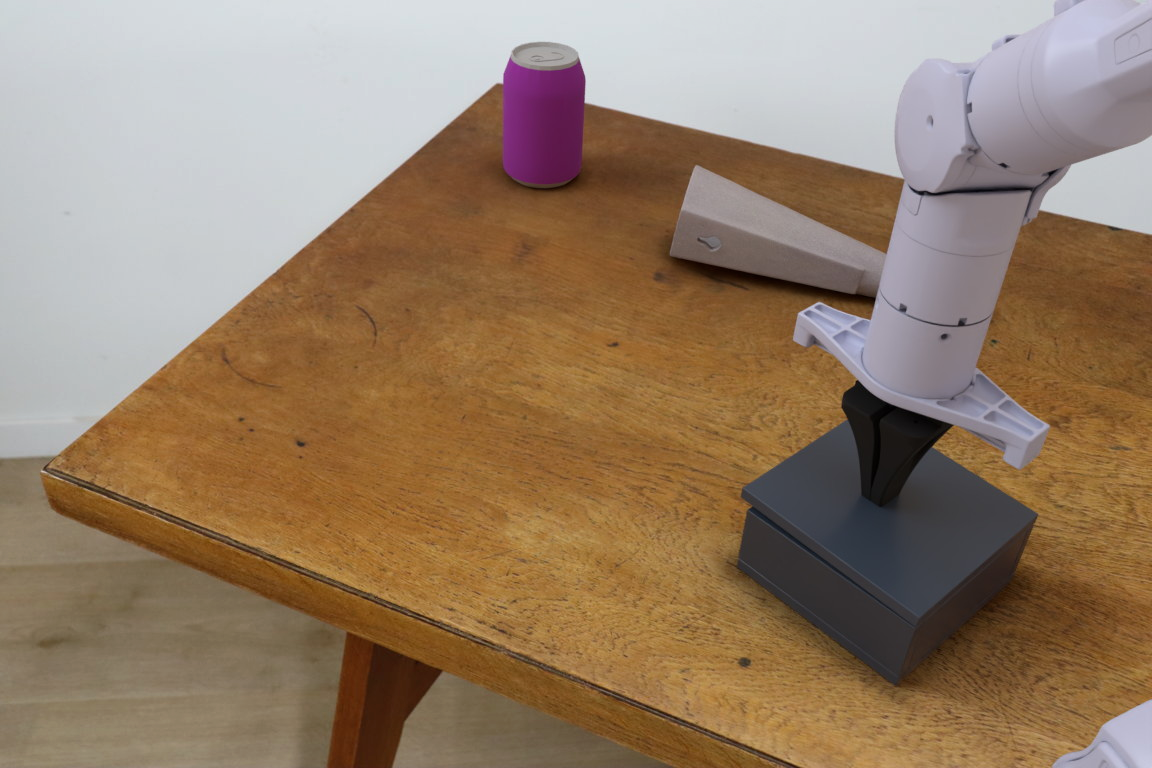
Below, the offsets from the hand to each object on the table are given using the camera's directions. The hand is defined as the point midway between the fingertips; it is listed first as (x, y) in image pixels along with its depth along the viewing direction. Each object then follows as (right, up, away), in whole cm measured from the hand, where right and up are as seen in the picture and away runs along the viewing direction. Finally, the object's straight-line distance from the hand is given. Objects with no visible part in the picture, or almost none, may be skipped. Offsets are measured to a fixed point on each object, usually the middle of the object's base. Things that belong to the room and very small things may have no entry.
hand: (880, 493), depth 64 cm
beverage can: (-21, +27, +44) cm, 56 cm away
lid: (0, -1, 0) cm, 1 cm away
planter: (+4, +16, +31) cm, 35 cm away
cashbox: (0, -5, +3) cm, 6 cm away
